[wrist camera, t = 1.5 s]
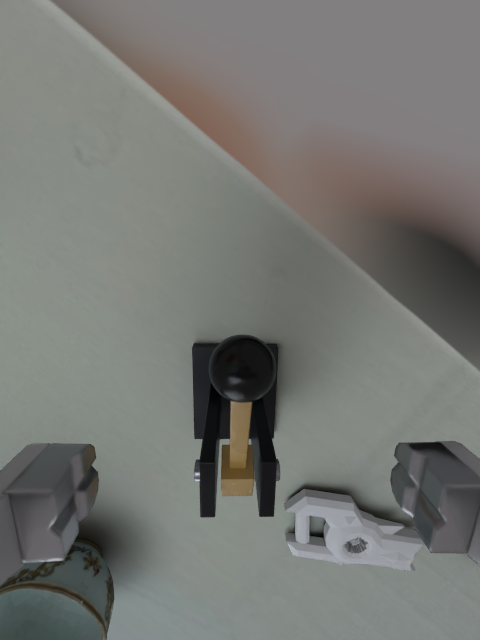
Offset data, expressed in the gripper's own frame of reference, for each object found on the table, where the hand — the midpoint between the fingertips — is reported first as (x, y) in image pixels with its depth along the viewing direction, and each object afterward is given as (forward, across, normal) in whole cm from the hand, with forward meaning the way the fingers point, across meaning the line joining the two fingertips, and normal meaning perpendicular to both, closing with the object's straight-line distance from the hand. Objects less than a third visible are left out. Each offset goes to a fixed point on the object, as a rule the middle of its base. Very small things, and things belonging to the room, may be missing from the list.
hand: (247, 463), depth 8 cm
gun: (+23, -15, +29) cm, 40 cm away
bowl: (+23, +20, +34) cm, 46 cm away
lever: (+10, 0, +4) cm, 11 cm away
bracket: (+23, 0, +10) cm, 25 cm away
